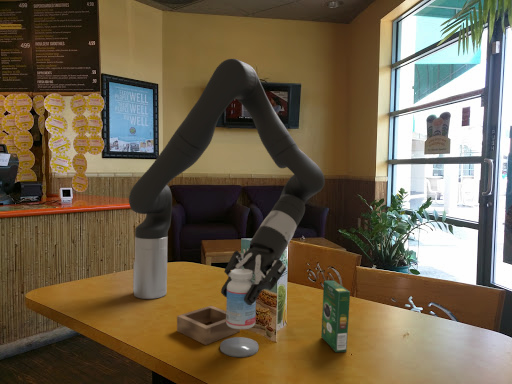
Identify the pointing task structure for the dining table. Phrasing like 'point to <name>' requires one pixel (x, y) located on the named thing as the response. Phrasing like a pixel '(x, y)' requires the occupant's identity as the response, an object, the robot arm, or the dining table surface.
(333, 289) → the coffee box
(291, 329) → the dining table surface
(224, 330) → the square open box
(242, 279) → the pill bottle
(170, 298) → the dining table surface
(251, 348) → the coaster
